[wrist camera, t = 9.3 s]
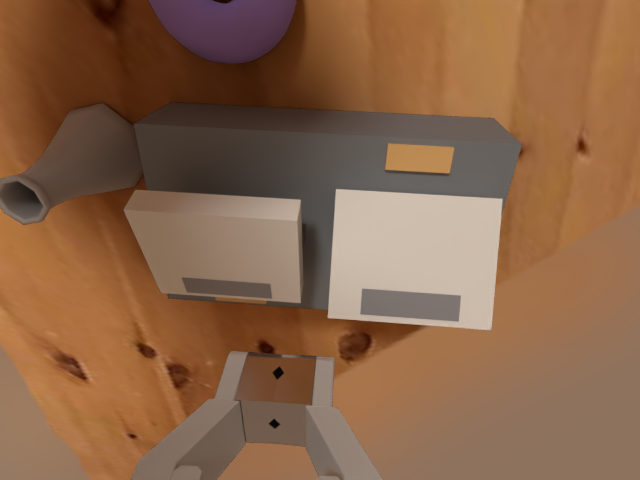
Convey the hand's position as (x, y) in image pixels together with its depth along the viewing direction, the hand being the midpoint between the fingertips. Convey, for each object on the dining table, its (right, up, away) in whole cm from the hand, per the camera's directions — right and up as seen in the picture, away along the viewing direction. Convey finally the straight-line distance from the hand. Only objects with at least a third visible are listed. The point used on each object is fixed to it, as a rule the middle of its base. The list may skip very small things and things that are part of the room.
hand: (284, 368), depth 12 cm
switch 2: (+7, +3, +15) cm, 16 cm away
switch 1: (-5, +3, +15) cm, 17 cm away
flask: (-16, +11, +22) cm, 30 cm away
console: (+1, +7, +22) cm, 24 cm away
